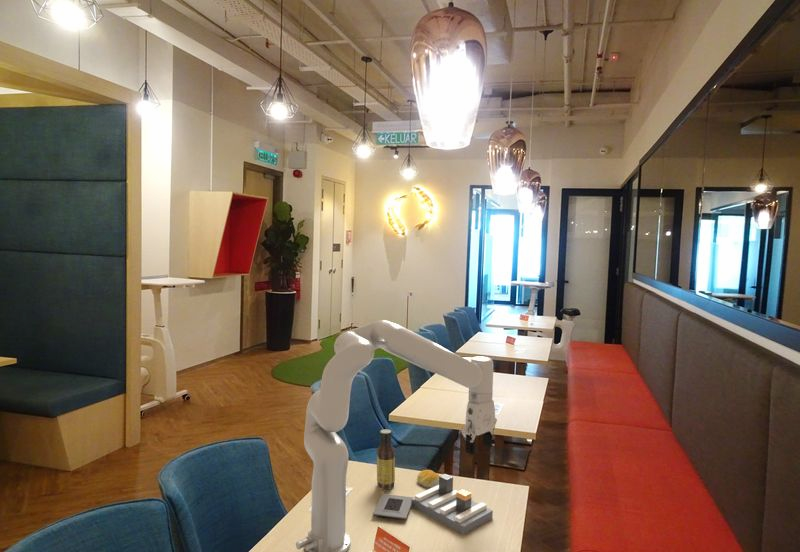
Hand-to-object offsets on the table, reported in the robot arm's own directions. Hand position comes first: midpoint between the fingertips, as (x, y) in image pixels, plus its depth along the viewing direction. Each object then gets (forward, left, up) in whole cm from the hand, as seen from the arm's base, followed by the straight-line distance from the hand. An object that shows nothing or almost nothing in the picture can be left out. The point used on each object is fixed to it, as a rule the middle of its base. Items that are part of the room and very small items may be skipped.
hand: (478, 449), depth 168 cm
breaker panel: (-7, +5, -20) cm, 22 cm away
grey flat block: (-20, +18, -21) cm, 34 cm away
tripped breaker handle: (-7, 0, -17) cm, 19 cm away
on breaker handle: (-3, +11, -17) cm, 21 cm away
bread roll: (+3, +24, -21) cm, 32 cm away
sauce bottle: (-11, +32, -20) cm, 39 cm away
